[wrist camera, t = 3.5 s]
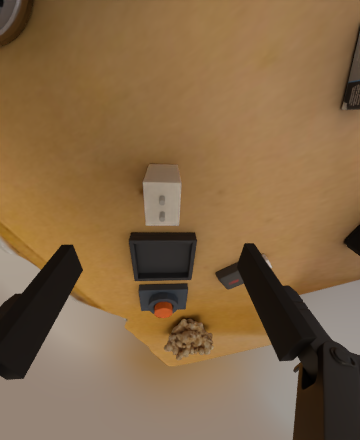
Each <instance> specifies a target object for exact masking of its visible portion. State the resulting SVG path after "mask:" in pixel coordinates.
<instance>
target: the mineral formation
mask: <svg viewBox="0 0 360 440" xmlns="http://www.w3.org/2000/svg"><path fill="white" fill-rule="evenodd" d="M212 344H213V341H212V334H211V333H207V332H206V331H205V329H204V327H203V324H202V323H201V322H200V323H198V322H196V321H193V320H192V319H188V320H186V319H182V320H181V322H180V323H179V324H178V326H175V327H174V328H173V330H172V333H171V334H170V335H169V341H168V343H167V345H165V347H164V350H165V351H170V352H171V351H172V352H173V354H174V355H177V356H176V359H177V360H181V359H182V357H183V356H184V357H188V356H189V354H194V353H195V354H196V353H197V352H199V354H200V355H203V354H206V355H207V354H209V353H210V350H211V349H213V347H214V346H213V345H212Z"/></svg>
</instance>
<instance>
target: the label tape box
mask: <svg viewBox="0 0 360 440" xmlns="http://www.w3.org/2000/svg"><path fill="white" fill-rule="evenodd" d="M358 109H360V33H359V38H358V42H357V46H356V51H355V55H354V59H353V64H352V68H351V72H350V76H349V80H348V85H347V89H346V93H345V98H344V102H343V106H342V110H358Z"/></svg>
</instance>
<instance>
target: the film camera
mask: <svg viewBox="0 0 360 440" xmlns="http://www.w3.org/2000/svg"><path fill="white" fill-rule="evenodd" d="M345 244H346V245H347V247H348V248H350V249H351V250H353V251H354V252H355V253H356V254H358V255H359V256H360V225H359V226H358V227H357V228H356V229H355V230H354V231H353V232H352V233H351V234H350V235H349V236H348V237H347V238H346V239H345Z"/></svg>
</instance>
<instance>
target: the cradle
mask: <svg viewBox="0 0 360 440" xmlns="http://www.w3.org/2000/svg"><path fill="white" fill-rule="evenodd" d="M196 243H197V239H196V235H195V233H131V235H130V238H129V246H130V252H131V259H132V266H133V272H134V279H135V281H162V280H191V279H192V272H193V265H194V258H195V250H196Z"/></svg>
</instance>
